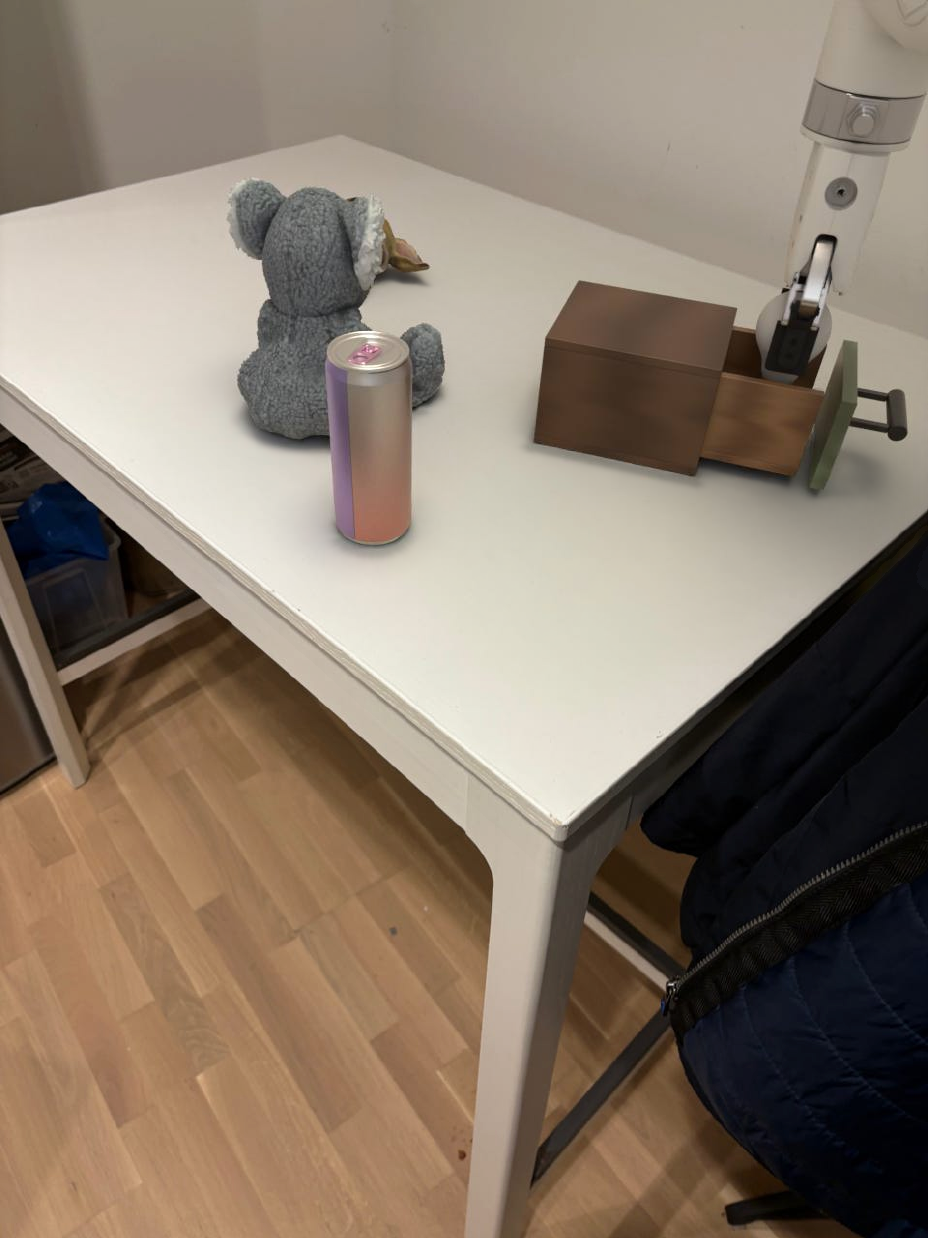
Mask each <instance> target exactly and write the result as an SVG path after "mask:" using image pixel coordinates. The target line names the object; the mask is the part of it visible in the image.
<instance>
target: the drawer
mask: <svg viewBox="0 0 928 1238" xmlns="http://www.w3.org/2000/svg"><path fill="white" fill-rule="evenodd" d="M842 340H843V341H842V343H841V346H840V348H839V352H838V355H837V357H836V360H835V362H834V366H833V368H832V371H831V374H830V376H829V380H828V383H827V386H826V388H825V391H824V390H820V389H815V388H814V385H815V383H816V381H817V377H818V373H819V371H820V369H821V365H822V362H823V359H824V356H825V353H826V351H827V348H828V343H827V344H826V346H825V347H824V349H823V350H822V351H821V352H820V353H819V354H818V355H817V356H816V357H815V358H814V359H812V360H811V361H810V362H809V363H808V365H807V368H806V371H805V374H804V375H802V376H798V378H797V379H796V380H795V381H794V384H793V385H789V384H784V383H778V382H773V381H768V380H762V379H761V375H762V372H761V364H762V358H761V353H760V350H759V347H758V344H757V340H756V329H754V328H749V327H743V326H739V325H733V329H732V333H731V337H730V341H729V345H728V350H727V354H726V358H725V362H724V366H723V370H722V374H721V378H720V382H719V386H718V389H717V393H716V397H715V401H714V404H713V408H712V412H711V416H710V419H709V423H708V427H707V431H706V435H705V438H704V442H703V446H702V450H701V453H700V457H699V458H704V459H709V460H713V461H717V462H723V463H727V464H731V465H737V466H742V467H745V468H751V469H757V470H762V471H766V472H770V473H776V474H781V475H785V476H790V477H796V476H797V473H798V470H799V467H800V464H801V461H802V459H803V456H804V453H805V450H806V448H807V445H808V442H809V439H810V437H811V433H812V430H813V434H812V446H811V447H812V449H811V460H810V473H809V474H810V475H809V488H810V489H813V490H818V491H825V488H826V487H827V483H828V481H829V478H830V475H831V473H832V471H833V468H834V466H835V463H836V460H837V458H838V455H839V452H840V451H841V448H842V445H843V442H844V439H845V437H846V434H847V432H848V429H849V428H850V427H851V428H857V429H860V430H867V431H873V432H877V433H883V434H887V437H888V439H889V440H891V441H892V442H901V441H903V440H905V439H906V438H907V436H908V433H909V431H908V430H909V429H908V420H907V419H908V418H907V417H908V416H907V415H908V414H907V405H906V393H905V392H904V390H902V389H900V388H893V389H891V390H890V391H887V392H884V391H878V390H873V389H868V388H862V387H858V380H859V379H858V375H859V374H858V369H859V366H858V362H859V356H858V355H859V346H858V345H859V342H858V341H854V340H849V339H842ZM858 398H862V399H867V400H871V401H877V402H883V403H885V409H886V412H885V413H886V423H885V422H879V421H876V420H875V421H874V420H869V419H864V418H859V417H853V416H854V414H855V412H856V409H857V406H858Z"/></svg>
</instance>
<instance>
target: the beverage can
mask: <svg viewBox="0 0 928 1238" xmlns="http://www.w3.org/2000/svg"><path fill="white" fill-rule="evenodd" d="M325 374H326V389H327V403H328V418H329V433H330V436H329V446H330V447H329V448H330V463H331V476H332V477H331V478H332V490H333V491H332V492H333V505H334V506H333V507H334V508H333V509H334V522H335V524H336V525H335V526H336V527H337V528H338V529H339V531H340V532H341V534H343V535H344V536H345V537H346V538H347V539H348V540H350V541H352V542H354V543H356V544H360V545H366V546H381V545H386V544H389V543H392V542H394V541H396V540H398V539H399V538H401V537H402V536H403V535H404V534H405V533H406V532H407V530H408V528H409V527H410V525H411V523H412V466H413V462H412V461H413V460H412V459H413V456H412V455H413V451H412V449H413V407H412V362H411V359H410V357H409V347H408V345H407V344H406V343H405V342H404V341H403V340H402V339H400V336H397V335H395V334H391V333H388V332H384V331H383V332H382V331H376V330H373V331H357V332H351V333H347V334H344V335H341V336H339V337H337V338H335V339H334V340H332V341H331V342H330V344H329V345H328V347H327V359H326V362H325Z"/></svg>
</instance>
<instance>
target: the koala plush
mask: <svg viewBox="0 0 928 1238" xmlns="http://www.w3.org/2000/svg"><path fill="white" fill-rule="evenodd" d="M225 194H226V196H227V204H230V208H229V210H228V213H227V215H226V218H225V220H226V221H227V222H228V223H229V230H228V233H229V234H230V237H231V239H232V240H233V242H234V245H235V248H236V249H237V250H238V251H239V250H240V249H241V251H242V253H244V254H246V257H248V258H249V257H250V258H251V259H252V260H256V261H261V267H262V268H261V269H262V270H261V271H262V276H263V277H264V281H265V283H266V288H267V290H268V295H269V298H268V299H266V300H264V302H263V303H262V306H261V307H260V308H259V315H258V317H257V320H256V324H257V331H256V335H257V336H256V337H257V341H258V343H257V344H258V346H257V347H258V348H257V349H256V350H253V351H252V352H251V353H250V354H249V356H248V357H246V359H245V360H243V361H242V363H241V364H240V367H239V368H238V372H239V373H238V374H237V375H236V376H237V379H236V381H237V382H236V385H237V387H238V390H239V392H240V395H241V396H242V398H243V400H244V401H245V403H246V404H247V406H248V408H249V410H250V416H251V417H252V419H253V421H254V423H255V426H256V427H257V428H260V429H262V430H264V431H268V432H269V433H270V432H271V433H274V434H279V435H282V436H283V437H285V438H290V439H292V440H295V439H296V440H302V439H306V438H308V437H310V436H311V437H312V436H328V437H330V433H329V418H328V403H327V389H326V374H325V362H326V359H327V347H328V345H329V344H330V342H331V341H332V340H334V339H335V338H337V337H339V336H341V335H344V334H347V333H351V332H357V331H374V330H373V329H372V328H371V327H369V326H368V325H366V323H364V322H362V319H363V316H362V313H361V311H360V309H359V308H361V306H363V305H364V302H365V301H366V300H367V298H368V295H369V294H370V290H372V288H373V286H374V285H375V281H374V280H375V279H376V277H377V275H375V274H376V273H377V270H378V271H379V272H381V273H384V271H383V270H382V269H381V267H380V266H379V265H380V264H381V261H382V251H383V249H382V244H383V243H382V241H383V239H384V238H386V235H385V233H384V232H383V229H382V226H383V224H384V220H385V219H386V218H385V210H384V208H383V205H382V201H383V198H379V197H377V196H376V195H375V194H373V195H372V194H370V195H369V198H366V197H365V196H361V197H359V198H356V199H355V201H353V202H349V203H347V202H346V201H345V200H344V199H345V198H344V197H341V196H339V194H337V193H336V192H335V191H331V190H329V189H327V188H326V187H324V188H323V187H317V186H309V187H307V186H304V188H303V187H302V188H300V189H299V190H297V189H296V191H294V192H293V193H291V194H289V196H288V197H287V196H286V195H284V194H282V193H281V191H280V190H279V189H278V188H277V187H275V185H274V184H273V183H271V182H266V181H265V180H264V179H260V178H259V177H248V178H246V177H245V178H244V179H241V180H240V182H238V181H235V184H234V186H233V185H231V186H230V193H228V191H226V192H225ZM343 198H344V199H343ZM399 338H400V339H402V340H403V341H404V342H405V343H406V344H407V345H408V347H409V357H410V359H411V362H412V408H413V407H416V406H417V407H418V406H419V405H422V404H423V403H424V402H425V401H427V400H428V399H429V398H430V397H432V396H433V395H434V394H435V392H436V391H437V390H438V389H439V388H440V386H441V384H442V383H443V376H444V374H445V370H446V368H445V367H446V366H445V365H446V364H445V363H446V360H445V355H444V351H443V349H444V347H443V346H444V345H443V341H442V333H441V332H440V331H438V328H435V327H434V326H433V325H431V324H429V323H427V322H426V323H425V322H421V323H420V324H417V325H416V326H410V327H409V328H408V329H407V330H406V331H404V332H403V333H402V334H401V336H399Z"/></svg>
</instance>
